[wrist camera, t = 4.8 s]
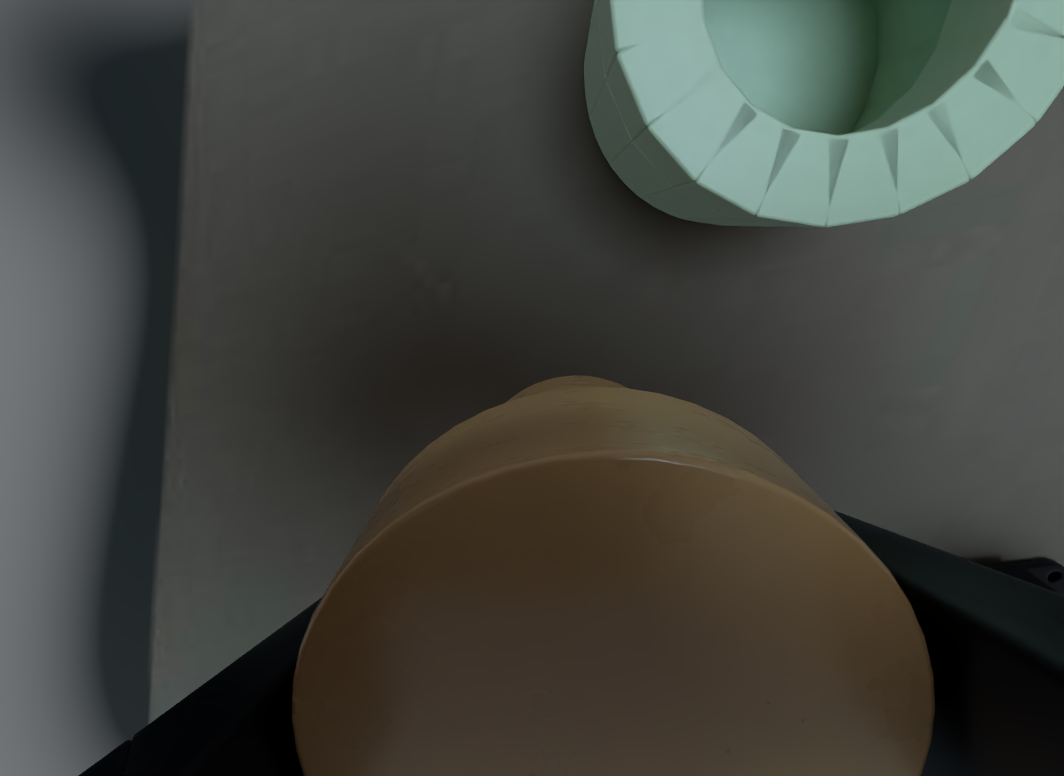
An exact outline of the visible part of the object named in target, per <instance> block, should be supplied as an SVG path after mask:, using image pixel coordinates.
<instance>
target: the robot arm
mask: <svg viewBox="0 0 1064 776" xmlns="http://www.w3.org/2000/svg"><path fill="white" fill-rule="evenodd" d="M833 511H834V510H833ZM834 512H835V513H836V514H837V515H838V516H839V517H840V518H841V519H842V520H843V521H844V522H845V523H846V524H847V525H848V526H849V527H850V528H851V529H852V530H853V531H854V532H855V533H856V534H857V535H858V536H859V537H860V538H861V539H862V540H863V541H864V542H865V543H866V544H867V546H868V547H869V548H870V549H871V550H872V551H873V552H874V553H875V555H876V556H877V557H878V558H879V559H880V560H881V561H882V562H883V563H884V565H885V566H886V567H887V568H888V569H889V570H890V572H891V573H892V575H893V576H894V578H895V580H896V581H897V583H898V584H899V586H900V587H901V589H902V591H903V592H904V594H905V595H906V597H907V598H908V600H909V602H910V603H911V606H912V608H913V611H914V613H915V615H916V618H917V620H918V622H919V625H920V627H921V630H922V632H923V634H924V637H925V641H926V645H927V649H928V654H929V658H930V662H931V667H932V671H933V676H934V696H935V715H934V723H933V731H932V740H931V745H930V748H929V752H928V755H927V758H926V762H925V765H924V769H923V772H922V775H921V776H1064V567H1063V566H1062V565H1060V564H1059V563H1057V562H1056V561H1054V560H1038V561H1029V562H1021V563H1012V564H1003V565H995V566H983V565H980V564H977V563H975V562H972V561H969V560H967V559H964V558H961V557H958V556H956V555H953V554H950V553H948V552H945V551H942V550H939V549H937V548H934V547H931V546H929V545H926V544H923V543H920V542H918V541H915V540H912V539H910V538H907V537H904V536H901V535H899V534H896V533H893V532H891V531H888V530H885V529H882V528H880V527H877V526H874V525H872V524H869V523H866V522H864V521H861V520H858V519H855V518H853V517H850V516H847V515H845V514H842V513H839V512H836V511H834ZM1050 573H1051V574H1050ZM321 599H322V598H320V599H319V600H318V601H316V602H315V603H314V604H312V605H311V606H310V607H308V608H307V609H305V610H304V611H303V612H301V613H300V614H299V615H297V616H296V617H295V618H293V619H292V620H291V621H289V622H288V623H286V624H285V625H284V626H282V627H281V628H280V629H278V630H277V631H276V632H274V633H273V634H271V635H270V636H269V637H267V638H266V639H265V640H263V641H262V642H261V643H259V644H258V645H256V646H255V647H254V648H252V649H251V650H250V651H248V652H247V653H246V654H244V655H243V656H241V657H240V658H239V659H237V660H236V661H235V662H233V663H232V664H231V665H229V666H228V667H226V668H225V669H224V670H222V671H221V672H220V673H218V674H217V675H216V676H214V677H213V678H211V679H210V680H209V681H207V682H206V683H205V684H203V685H202V686H201V687H199V688H198V689H196V690H195V691H194V692H192V693H191V694H190V695H188V696H187V697H186V698H184V699H183V700H181V701H180V702H179V703H177V704H176V705H175V706H173V707H172V708H171V709H169V710H168V711H166V712H165V713H164V714H162V715H161V716H160V717H158V718H157V719H156V720H154V721H153V722H152V723H150V724H149V725H147V726H146V727H145V728H143V729H142V730H141V731H139V732H138V733H137V734H135V735H134V737H133V740H132V741H131V740H127V741H125V742H124V743H123V744H121V745H120V746H118V747H117V748H116V749H114V750H113V751H112V752H110V753H109V754H108V755H106V756H105V757H104V758H102V759H101V760H100V761H98V762H97V763H95V764H94V765H93V766H91V767H90V768H88V769H87V770H86V771H84V772H83V773H82V774H80V775H79V776H304V775H303V771H302V768H301V764H300V761H299V758H298V754H297V751H296V746H295V738H294V730H293V722H292V698H293V678H294V673H295V669H296V664H297V659H298V654H299V649H300V645H301V643H302V640H303V638H304V635H305V633H306V630H307V627H308V625H309V622H310V620H311V617H312V614H313V613H314V611H315V609H316V607H317V606H318V604H319V602H320V601H321Z"/></svg>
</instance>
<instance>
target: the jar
mask: <svg viewBox="0 0 1064 776" xmlns="http://www.w3.org/2000/svg"><path fill="white" fill-rule="evenodd" d="M584 84H585V98H586V104H587V109H588V115H589V119H590V122H591V125H592V129H593V132H594V135H595V138H596V140H597V142H598V144H599V146H600V148H601V151H602V153H603V155H604V156H605V158H606V160H607V161H608V163H609V164H610V166H611V167H612V169H613V171H614V172H615V173H616V174H617V175H618V177H619V178H620V179H621V180H622V181H623V183H624V184H625V185H626V186H627V187H628V188H630V189H631V190H632V191H633V192H634V193H635V194H636V195H637V196H638V197H640V198H641V199H643V200H644V201H646V202H647V203H649V204H650V205H652V206H653V207H655V208H657V209H659V210H661V211H663V212H665V213H667V214H669V215H672V216H675V217H677V218H681V219H684V220H688V221H694V222H700V223H709V224H715V225H721V226H765V227H814V228H829V227H835V226H841V225H847V224H854V223H860V222H866V221H872V220H878V219H885V218H891V217H895V216H897V215H900V214H903V213H905V212H907V211H909V210H911V209H914V208H916V207H918V206H920V205H922V204H924V203H926V202H928V201H930V200H932V199H934V198H936V197H938V196H941V195H943V194H945V193H947V192H949V191H951V190H953V189H955V188H957V187H959V186H961V185H963V184H965V183H967V182H968V181H969V180H971V179H973V178H975V177H976V176H977V175H978V174H979V173H981V172H982V171H983V170H984V169H985V168H986V167H987V166H989V165H990V164H991V163H992V162H993V161H994V160H996V159H997V158H998V157H999V156H1000V155H1001V154H1003V153H1004V152H1005V151H1006V150H1007V149H1008V148H1010V147H1011V146H1012V145H1013V144H1014V143H1015V142H1017V141H1018V140H1019V139H1020V138H1021V137H1022V136H1024V135H1025V134H1026V133H1027V132H1028V131H1029V130H1031V129H1032V128H1033V127H1034V126H1035V123H1036V122H1038V121H1039V120H1040V119H1041V117H1042V116H1043V114H1044V113H1045V112H1046V110H1047V109H1048V107H1049V106H1050V105H1051V103H1052V102H1053V100H1054V99H1055V98H1056V96H1057V95H1058V93H1059V92H1060V91H1061V89H1062V88H1063V86H1064V0H595V1H594V6H593V11H592V16H591V22H590V28H589V35H588V41H587V47H586V53H585V59H584Z"/></svg>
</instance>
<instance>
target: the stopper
mask: <svg viewBox="0 0 1064 776" xmlns="http://www.w3.org/2000/svg"><path fill="white" fill-rule="evenodd" d="M934 715H935V696H934V676H933V671H932V667H931V662H930V658H929V654H928V649H927V645H926V641H925V637H924V634H923V632H922V630H921V627H920V625H919V622H918V620H917V618H916V615H915V613H914V611H913V608H912V606H911V603H910V602H909V600H908V598H907V597H906V595H905V594H904V592H903V591H902V589H901V587H900V586H899V584H898V583H897V581H896V580H895V578H894V576H893V575H892V573H891V572H890V570H889V569H888V568H887V567H886V566H885V565H884V563H883V562H882V561H881V560H880V559H879V558H878V557H877V556H876V555H875V553H874V552H873V551H872V550H871V549H870V548H869V547H868V546H867V544H866V543H865V542H864V541H863V540H862V539H861V538H860V537H859V536H858V535H857V534H856V533H855V532H854V531H853V530H852V529H851V528H850V527H849V526H848V525H847V524H846V523H845V522H844V521H843V520H842V519H841V518H840V517H839V516H838V515H837V514H836V513H835V512H834V511H833V510H832V509H831V508H830V507H829V506H828V505H827V504H826V503H825V502H824V501H823V500H822V499H821V498H820V497H819V496H818V495H817V494H816V493H815V492H814V491H813V490H812V489H811V488H810V487H809V485H808V484H807V483H806V482H805V481H804V480H803V479H802V478H801V477H800V476H799V475H798V474H797V473H796V472H795V471H794V470H793V469H792V468H791V467H790V466H789V465H788V464H787V463H786V462H785V461H784V460H783V459H782V458H781V457H780V456H779V455H778V454H776V453H775V452H774V451H773V450H772V449H770V448H769V447H768V446H767V445H766V444H764V443H763V442H762V441H761V440H759V439H758V438H757V437H756V436H755V435H753V434H752V433H750V432H748V431H747V430H745V429H744V428H742V427H740V426H739V425H737V424H735V423H734V422H732V421H731V420H729V419H727V418H726V417H724V416H721V415H719V414H717V413H714V412H712V411H710V410H708V409H705V408H703V407H701V406H699V405H696V404H694V403H691V402H687V401H684V400H680V399H677V398H674V397H670V396H667V395H663V394H660V393H653V392H647V391H640V390H634V389H628V388H626V387H624V386H622V385H620V384H618V383H615V382H613V381H609V380H606V379H602V378H597V377H591V376H563V377H557V378H552V379H548V380H545V381H542V382H539V383H536V384H534V385H532V386H530V387H528V388H526V389H524V390H522V391H520V392H519V393H518V394H516V395H515V396H513V397H512V398H511V399H509V400H508V401H507V402H506V403H504V404H501V405H499V406H496V407H493V408H490V409H488V410H485V411H483V412H481V413H479V414H477V415H475V416H474V417H472V418H470V419H468V420H466V421H464V422H462V423H460V424H458V425H456V426H455V427H453V428H452V429H450V430H449V431H447V432H446V433H445V434H443V435H442V436H440V437H439V438H438V439H436V440H435V441H433V442H432V443H430V444H429V445H428V446H427V447H426V448H425V449H424V450H422V451H421V452H420V453H419V454H418V455H417V456H416V457H415V458H414V459H413V460H412V461H411V462H410V463H409V464H407V465H406V466H405V468H404V469H403V470H402V471H401V473H400V474H399V475H398V476H397V478H396V479H395V480H394V481H393V482H392V484H391V485H390V486H389V487H388V489H387V490H386V492H385V493H384V495H383V497H382V498H381V500H380V502H379V503H378V505H377V507H376V508H375V510H374V512H373V513H372V515H371V517H370V518H369V520H368V522H367V523H366V525H365V527H364V528H363V530H362V532H361V533H360V535H359V537H358V538H357V540H356V542H355V543H354V545H353V547H352V548H351V550H350V552H349V553H348V555H347V557H346V558H345V560H344V562H343V564H342V565H341V567H340V569H339V570H338V572H337V574H336V575H335V577H334V579H333V580H332V582H331V584H330V585H329V587H328V589H327V590H326V592H325V594H324V596H323V597H322V599H321V601H320V602H319V604H318V606H317V607H316V609H315V611H314V613H313V614H312V617H311V620H310V622H309V625H308V627H307V630H306V633H305V635H304V638H303V640H302V643H301V645H300V649H299V654H298V659H297V664H296V669H295V673H294V678H293V698H292V722H293V730H294V738H295V746H296V751H297V754H298V758H299V761H300V764H301V768H302V771H303V775H304V776H921V775H922V772H923V769H924V765H925V762H926V758H927V755H928V752H929V748H930V745H931V740H932V731H933V723H934Z"/></svg>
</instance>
